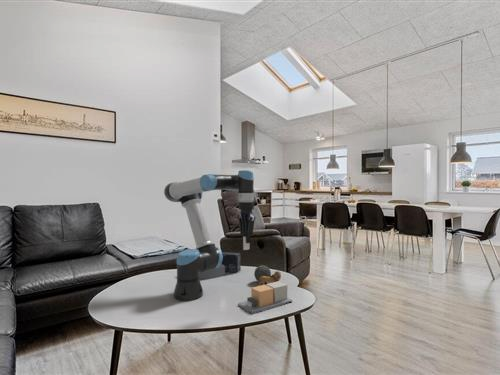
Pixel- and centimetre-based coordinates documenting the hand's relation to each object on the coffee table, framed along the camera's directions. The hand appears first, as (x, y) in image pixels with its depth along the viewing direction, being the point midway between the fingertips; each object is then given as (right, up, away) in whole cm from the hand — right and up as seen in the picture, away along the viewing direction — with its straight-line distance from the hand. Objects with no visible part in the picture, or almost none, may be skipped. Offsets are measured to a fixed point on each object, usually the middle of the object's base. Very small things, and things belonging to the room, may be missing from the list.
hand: (246, 249), depth 145 cm
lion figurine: (+13, -27, +22) cm, 37 cm away
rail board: (+9, -26, -1) cm, 28 cm away
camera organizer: (-28, -27, +46) cm, 60 cm away
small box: (-12, -27, +56) cm, 63 cm away
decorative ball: (+9, -27, +31) cm, 42 cm away
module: (+8, -25, -2) cm, 27 cm away
